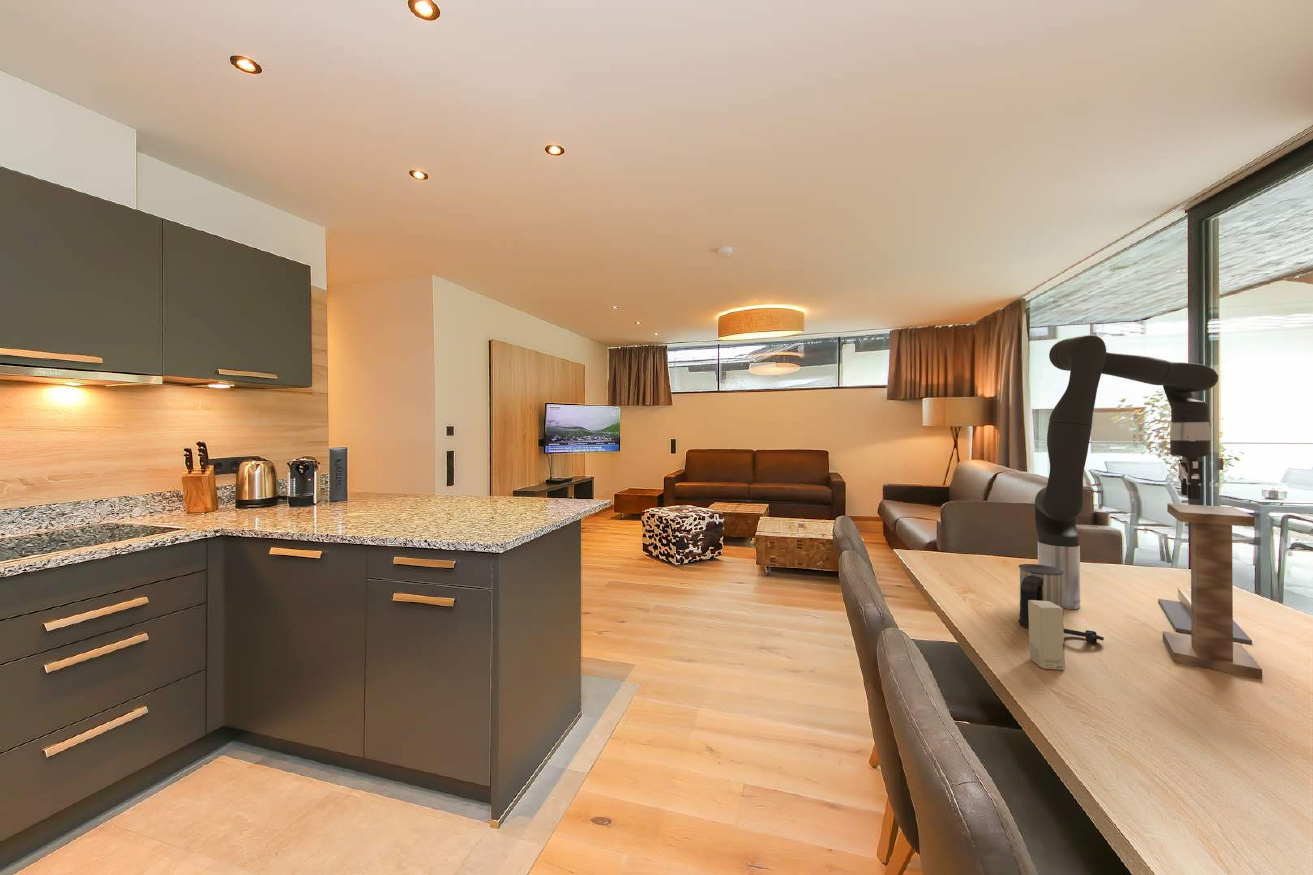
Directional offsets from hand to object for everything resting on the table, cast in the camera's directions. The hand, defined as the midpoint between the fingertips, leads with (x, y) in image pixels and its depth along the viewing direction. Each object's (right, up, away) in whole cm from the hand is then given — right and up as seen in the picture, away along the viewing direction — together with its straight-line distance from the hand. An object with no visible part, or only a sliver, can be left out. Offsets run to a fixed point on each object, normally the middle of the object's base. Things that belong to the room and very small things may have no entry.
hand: (1190, 497), depth 135 cm
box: (-65, -32, -32) cm, 79 cm away
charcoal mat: (-9, -30, -10) cm, 33 cm away
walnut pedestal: (-29, -31, -30) cm, 52 cm away
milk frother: (-50, -31, -16) cm, 61 cm away
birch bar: (-6, -30, -7) cm, 31 cm away
